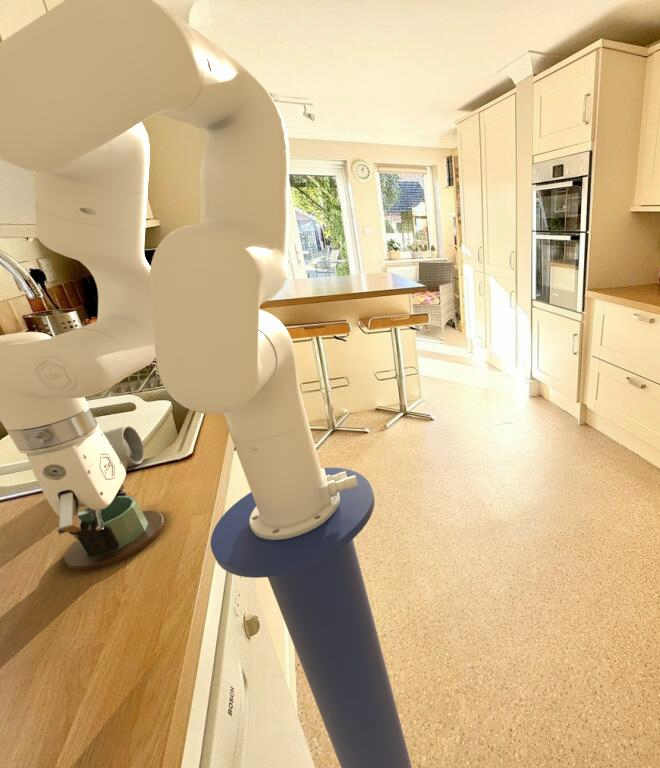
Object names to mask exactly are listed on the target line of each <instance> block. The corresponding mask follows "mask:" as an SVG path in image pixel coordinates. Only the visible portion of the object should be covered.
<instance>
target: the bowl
mask: <svg viewBox="0 0 660 768" xmlns="http://www.w3.org/2000/svg"><path fill="white" fill-rule="evenodd" d="M86 509H90V508H89V507H87V506H86V507H85V508H83V509H82V510H81V511H83V510H86ZM142 511H143V510H142V508H141V507H140V504H139V503H138V500H137V499H136V498H135V497H133V496H132V495H127V496H117V497H114V499H113V501H112V502H111V504H110V505H109V506H108V507H107V508H105V509H101V514H102V518H103V523H104V525H107V524H108V525H109V527H110V528H111V530H112V532H113V534H114V536H115V537H116V539H117V541H118V543H119V547H118V549H119V548H121V547H123V546H125V545H127V544H129V543H131V542H132V541H134V540H135V539H136V538H138V537H139V536H140V535H141V534H142V533H143V532H145V530H146V527H147V525H148V522H147V520H146V518H145V516H144V514H143V512H142ZM79 517H80V519H81V520H82V521H91V522H93V519H92V514H91V513H89V514H85V515H82V516H79ZM57 533H58V534H59V535H62V534H65V533H67V532H66V531H64V530H61V529H60V527H59V528H58V529H57ZM72 538H73V539H74V540H75V541H76V542H77V543H78V545H79V547H80V548H81V550H82V551H83V552H84V553H85V554H86V555H88V554H87V553H86V551H85V549H84V548H83V546H82V545H81V543H80V541H79V540H78V538H77V537H74V536H73V535H72ZM116 550H117V549H116ZM113 551H114V550H113ZM110 552H111V551H110ZM107 553H108V552H107ZM103 554H105V553H103ZM100 555H101V554H100Z"/></svg>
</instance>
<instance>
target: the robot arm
mask: <svg viewBox="0 0 660 768" xmlns="http://www.w3.org/2000/svg"><path fill="white" fill-rule="evenodd" d="M156 115H160V116H163V117H166V118H169V119H172V120H175V121H179V122H182V123H186V124H189V125H192V126H193V127H195V128H197V129H198V130H200V131H201V132H202V134H203V135H204V138H205V145H204V150H203V153H202V157H201V160H200V166H199V174H198V175H199V177H198V179H199V180H198V182H199V191H200V213H199V214H200V216H199V223H192V224H187V225H183V226H181V227H178V228H176V229H174V230H173V231H171V232H170V233H168V234H167V235H166V236H164V237H163V239H162V240H161V241H160V242H159V244H158V245H157V247H156V249H155V251H154V253H153V256H152V258H151V259H152V260H151V263H150V264H149V262H148V261H147V259H146V256H145V237H146V236H145V235H146V221H147V218H146V217H147V205H148V204H147V203H148V189H149V188H148V187H149V173H150V172H149V171H150V154H151V153H150V149H151V148H150V142H149V135H148V132H147V131H146V129H145V126H144V124H143V122H145V121H146V120H147V119H149V118H152V117H153V116H156ZM289 145H290V144H289V137H288V133H287V129H286V125H285V122H284V119H283V117H282V115H281V112H280V110H279V108H278V106H277V104H276V102H275V101H274V99H273V98H272V96H271V95H270V93H269V92H268V90H267V89H266V88H265V87H264V86H263V85H262V83H261V82H260V81H259V80H258V79H257V78H256V77H255V76H254V75H253V74H252V73H251V72H250V71H249V70H248V69H247V68H246V67H244V66H243V65H242V64H241V63H240V62H238V61H237V60H236V59H235V58H234V57H232V56H231V54H229V53H228V52H226V51H225V50H224V49H222V48H221V47H220V46H218V45H217V44H215V42H213V41H212V40H210V39H209V38H208V37H206V36H205V35H203V33H201V32H199V30H196V29H195V28H194V27H192V26H190V25H189V24H188V23H186V22H185V21H184V20H182V19H181V18H179V17H178V16H177V15H175V14H174V13H172V12H171V11H170V10H169V9H167V8H166V7H164V6H163V5H161V4H160V3H158V2H156V1H155V0H63V1H62V2H60V3H58V4H57V5H56V6H54V7H52V8H51V9H49V10H48V11H46V12H45V13H43V14H42V15H40V16H39V17H37V18H36V19H34V20H33V21H31V22H29V23H28V24H27V25H25V26H23V27H22V28H20V29H19V30H17V31H15V32H14V33H12V34H11V35H10V36H8V37H7V38H5V39H3V40H2V41H0V160H1V161H4V162H6V163H8V164H11V165H13V166H15V167H18V168H21V169H23V170H27V171H32V172H34V190H35V193H34V194H35V205H34V207H35V235H36V238H37V239H38V241H39V242H40V243H41V244H42V245H43V246H44V247H46V248H47V249H49V250H50V251H52V252H54V253H57V254H59V255H62V256H64V257H67V258H70V259H73V260H76V261H78V262H80V264H82V265H83V266H84V267H86V269H87V270H88V271H89V273H90V274H91V276H92V277H93V280H94V282H95V285H96V289H97V298H98V299H97V317H96V318H97V320H96V321H94V322H91V323H89V324H86V325H83V326H79V327H78V328H74V329H72V330H69V331H66V332H63V333H60V334H57V335H54V336H51V335H49V334H48V333H44V332H39V331H24V332H15V333H7V334H2V335H0V422H1V424H2V425H3V427H4V429H5V431H6V432H7V434H8V436H9V437H10V438H11V441H12V442H13V443H14V445H15V446H16V448H17V450H18V451H19V453H21V454H25V455H26V457H27V460H28V463H29V465H30V468H31V470H32V472H33V475H34V477H35V479H36V482H37V483H38V485H39V488H40V489H41V491H42V493H43V495H44V497H45V499H46V500H47V502H48V504H49V505H50V507H51V509H52V510H53V512H54V513H55V514H56V515H57V516H58V517H59V528H60V529H61V530H64V531H66V532H65V533H68V534H69V535H72V537H73V536H74V537H77V538H78V540H79V541H80V543H81V545H82V546H83V548H84V549H85V551H86V553H87V554H88V556H90V557H93V556H97V555H100V554H103V553H107V552H110V551H113V550H116V549H118V547H119V543H118V541H117V539H116V537H115V536H114V534H113V532H112V530H111V528H110V527H109V525H108V524H107V525H104V523H103V518H102V514H101V509H105V508H107V507H108V506H109V505H110V504H111V502H112V501H113V499H114V497H117V496H128V494H127V492H126V491H125V486H124V484H123V483H124V482H125V479H126V476H127V471H126V470H125V469H124V467H123V465H122V463H121V461H120V460H119V458H118V456H117V454H116V453H115V451H114V449H113V448H112V446H111V444H110V443H109V441H108V440H107V438H106V437H105V435H104V434H103V433H102V432H103V431H102V430H101V428H100V425H99V423H98V421H97V419H96V417H95V415H94V413H93V412H92V409H91V408H90V405H89V404H88V401H87V399H86V398H88V397H91V396H95V395H97V394H100V393H102V392H104V391H106V390H108V389H109V388H111V387H114V385H116V384H118V383H120V382H122V381H123V380H124V379H127V378H129V377H130V376H132V375H133V374H135V373H137V372H139V371H141V370H143V369H144V368H146V367H147V366H149V365H150V364H152V363H153V361H154V360H155V361H156V366H157V367H156V368H157V372H158V375H159V378H160V381H161V383H162V385H163V387H164V389H165V390H166V391H167V393H168V394H169V395H170V397H172V398H173V400H174V401H175V402H177V404H179V405H180V406H182V407H184V408H185V409H187V410H190V411H192V412H195V413H199V414H202V415H221V414H223V416H224V419H225V423H226V426H227V428H228V431H229V435H230V438H231V440H232V443H233V446H234V448H235V451H236V455H237V457H238V459H239V462H240V465H241V468H242V470H243V473H244V476H245V478H246V481H247V485H248V487H249V489H250V492H252V495H253V498H254V501H255V503H256V507H255V508H254V510H253V512H252V513H251V516H250V519H249V524H250V527H251V529H252V531H253V533H254V534H255V535H257V536H258V537H260V538H263V539H269V540H282V539H288V538H292V537H296V536H299V535H302V534H304V533H307V532H309V531H311V530H313V529H315V528H317V527H318V526H320V525H321V524H323V523H324V522H325V521H326V520H327V519H329V518H330V517H331V516H332V515H333V513H334V512H335V511H336V509H337V508H338V505H339V503H340V495H339V492H342V491H345V490H350V489H353V488H356V487H358V484H357V480H356V476H355V475H354V476H351V477H348V478H347V475H346V471H345V472H342V473H338V474H336V475H333V476H330V475H327V476H326V474H325V470H324V468H325V467H321V463H320V459H319V455H318V452H317V449H316V448H317V447H316V445H315V440H314V438H313V434H312V430H311V426H310V422H309V419H308V414H307V410H306V408H305V404H304V403H305V402H304V400H303V396H302V392H301V385H300V381H299V374H298V367H297V360H296V352H295V351H296V350H295V347H294V343H293V339H292V337H291V335H290V333H289V332H288V329H287V328H286V326H285V325H284V324H283V323H282V322H281V321H280V320H279V319H278V318H277V317H276V316H274V315H273V314H271V313H269V312H267V311H264V310H261V309H260V308H261V305H262V304H264V303H266V302H267V301H269V300H271V299H273V298H274V297H275V296H277V294H279V292H280V291H282V289H283V288H284V286H285V284H286V281H287V278H288V239H289V237H288V236H289V180H290V146H289ZM321 468H322V469H321ZM84 506H85V507H86V508H87V507H89V508H90V509H86V510H83V509H82V510H83V511H82V510H79V508H80V507H84ZM89 513H91V514H92V519H93V522H91V521H82V520H81V519H80V517H79V516H82V515H85V514H89ZM74 537H73V538H74Z"/></svg>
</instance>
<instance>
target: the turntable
mask: <svg viewBox="0 0 660 768" xmlns="http://www.w3.org/2000/svg"><path fill="white" fill-rule="evenodd" d="M142 512H143V514H144V516H145V518H146V520H147V522H148V525H147V527H146V530H145V532H143V533H142V534H141V535H140V536H139V537H138V538H136V539H135V540H134V541H132V542H131V543H129V544H127V545H125V546H123V547H121V548H119V549H117V550H114V551H111V552H108V553H105V554H101V555H97V556H93V557H90V556H88V555H86V554H85V553H84V552H83V551H82V550H81V548H80V547H79V545H78V543H77V542H76V540H75V541H74V542H72V544H71V545H70V546H69V547H68V548H67V550H66V551H65V553H64V556H63V557H64V558H63V559H64V562H65V564H66V565H67V567H68V568H70V569H71V570H75V571H91V570H96V569H101V568H104V567H107V566H110V565H114V564H116V563H118V562H120V561H123V560H126V559H127V558H129V557H131V556H133V555H135V554H136V553H137V552H140V551H141V550H143V549H144V548H146V547H147V546H148V545H150V544H151V543H152V542H154V540H156V539H157V537H159V535H160V534H161V533H162V531H163V530H164V528H165V525H166V524H165V523H166V522H165V519H164V517H163V515H162V514H161V513H160V512H158V511H154V510H142Z"/></svg>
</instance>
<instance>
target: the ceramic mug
mask: <svg viewBox="0 0 660 768" xmlns="http://www.w3.org/2000/svg"><path fill="white" fill-rule="evenodd" d="M102 433H103V434H104V435H105V437H106V438H107V440H108V441H109V443H110V444H111V446H112V448H113V449H114V451H115V453H116V454H117V456H118V458H119V460H120V461H121V463H122V465H123V467H124V469H125V471H126V470H127V468H129V467H130V468H131V467H134V466H138V465H140V464H141V463H142V462H143V461H144V459H145V447H144V446H145V445H144V444H143V441H142V439H141V436H140V435H139V433H138V431H137V430H136V429H135V428H134V427H132V426H130V425H124V426H120V427H116V428H112V429H109V430H108V429H107V430H104V431H102Z"/></svg>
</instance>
